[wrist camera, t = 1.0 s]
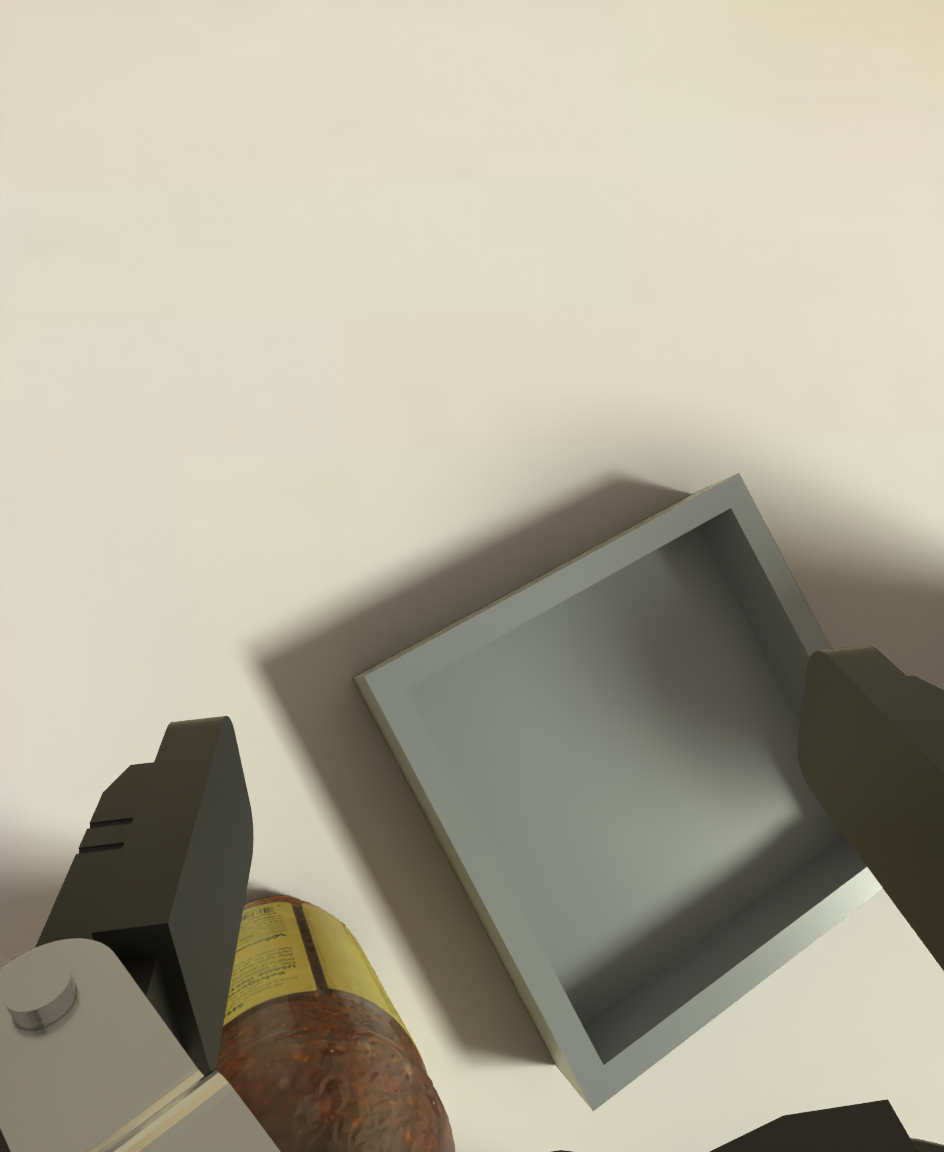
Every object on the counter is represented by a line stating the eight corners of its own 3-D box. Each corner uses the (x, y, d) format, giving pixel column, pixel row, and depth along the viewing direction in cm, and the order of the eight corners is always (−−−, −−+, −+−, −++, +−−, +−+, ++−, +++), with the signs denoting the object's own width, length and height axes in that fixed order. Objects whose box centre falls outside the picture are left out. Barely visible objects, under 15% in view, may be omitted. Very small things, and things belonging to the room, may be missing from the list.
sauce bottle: (156, 1070, 28) (-47, 1886, 9) (205, 874, 29) (117, 1224, 10) (352, 1091, 29) (541, 1836, 10) (391, 903, 30) (626, 1259, 11)
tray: (352, 677, 31) (364, 676, 28) (692, 493, 36) (739, 473, 32) (556, 1065, 31) (593, 1111, 28) (871, 832, 36) (935, 847, 32)
